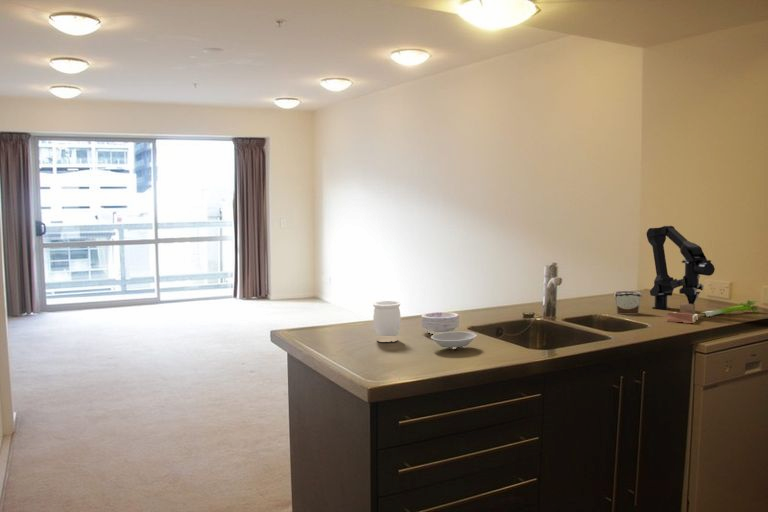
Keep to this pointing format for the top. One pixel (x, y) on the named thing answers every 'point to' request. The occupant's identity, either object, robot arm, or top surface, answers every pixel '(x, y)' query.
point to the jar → (387, 318)
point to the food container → (627, 302)
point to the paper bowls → (440, 321)
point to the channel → (681, 317)
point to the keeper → (687, 308)
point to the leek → (732, 309)
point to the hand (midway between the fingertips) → (691, 307)
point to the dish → (453, 339)
